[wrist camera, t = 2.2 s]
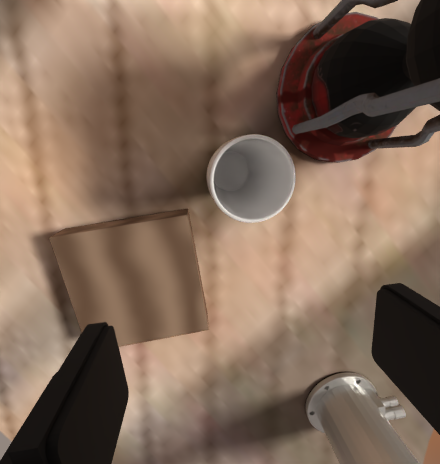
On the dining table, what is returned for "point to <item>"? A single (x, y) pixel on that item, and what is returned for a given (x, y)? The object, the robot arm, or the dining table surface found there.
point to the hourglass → (360, 81)
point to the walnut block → (134, 276)
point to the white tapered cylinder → (251, 178)
